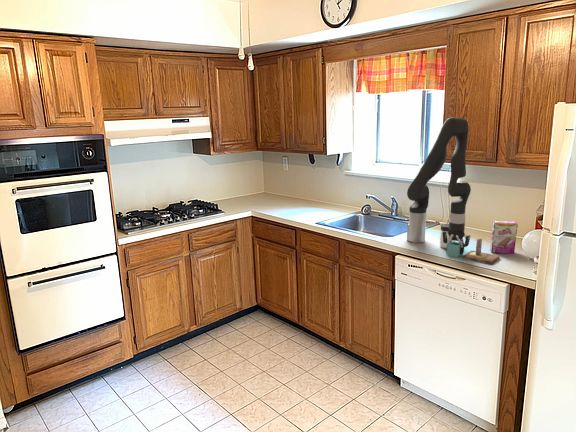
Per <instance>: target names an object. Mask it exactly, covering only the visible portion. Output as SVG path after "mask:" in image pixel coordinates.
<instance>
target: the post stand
mask: <svg viewBox="0 0 576 432" xmlns="http://www.w3.org/2000/svg"><path fill="white" fill-rule="evenodd" d="M475 245H476V246H475V250H470V251H469V252H466V253H465V254H463V255H462V259H463V260H468V261H472V262H477V263H481V264H487V265H493V264H495V263H496V262H497V261H498V260H500V258H501V257H500V255H496V254H490V253H486V252H482V245H483V239H482V238H476V243H475Z"/></svg>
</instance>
